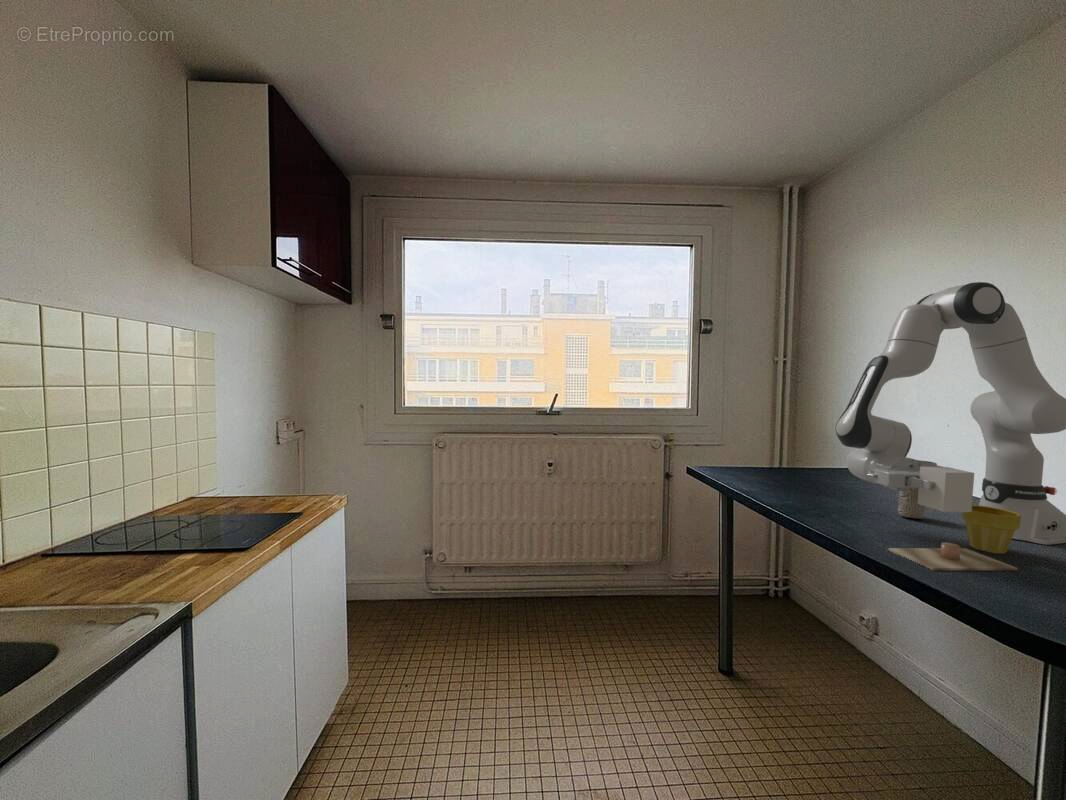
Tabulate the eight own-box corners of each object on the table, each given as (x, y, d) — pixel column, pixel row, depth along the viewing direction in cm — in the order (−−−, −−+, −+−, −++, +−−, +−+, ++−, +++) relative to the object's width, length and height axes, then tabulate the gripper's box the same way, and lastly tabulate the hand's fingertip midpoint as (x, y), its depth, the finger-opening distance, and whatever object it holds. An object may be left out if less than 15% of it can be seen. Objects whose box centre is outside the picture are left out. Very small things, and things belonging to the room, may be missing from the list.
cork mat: (965, 550, 119) (965, 548, 119) (1017, 570, 107) (1017, 568, 107) (887, 550, 117) (887, 548, 117) (932, 570, 105) (932, 568, 105)
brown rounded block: (949, 554, 114) (950, 542, 114) (963, 560, 110) (964, 547, 110) (936, 554, 113) (937, 542, 113) (949, 560, 110) (950, 547, 110)
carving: (922, 516, 148) (925, 477, 147) (925, 522, 141) (928, 482, 141) (896, 513, 151) (898, 474, 150) (898, 518, 145) (901, 478, 144)
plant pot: (993, 543, 125) (996, 505, 124) (1029, 558, 114) (1033, 517, 114) (949, 540, 126) (952, 503, 125) (982, 555, 115) (985, 514, 115)
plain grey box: (944, 504, 117) (947, 467, 117) (971, 512, 110) (974, 472, 110) (917, 503, 117) (920, 466, 116) (942, 511, 110) (945, 472, 109)
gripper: (862, 460, 125) (907, 471, 111) (937, 461, 127) (991, 472, 113) (861, 485, 126) (905, 498, 112) (936, 485, 127) (988, 499, 113)
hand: (949, 485), depth 112 cm, fingers closed on plain grey box, 7 cm apart
